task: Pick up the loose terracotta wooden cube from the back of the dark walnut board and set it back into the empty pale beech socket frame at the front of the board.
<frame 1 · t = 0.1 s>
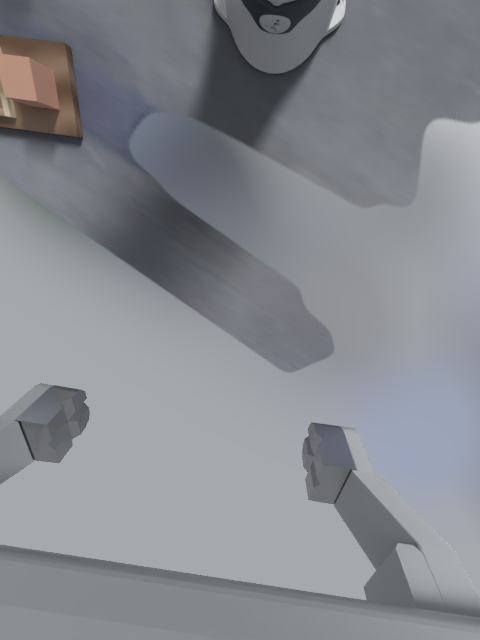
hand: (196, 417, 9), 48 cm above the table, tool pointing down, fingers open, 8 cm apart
assembly board: (19, 88, 45), on the table
terracotta cube: (41, 89, 43), point 1 cm above the table, touching assembly board
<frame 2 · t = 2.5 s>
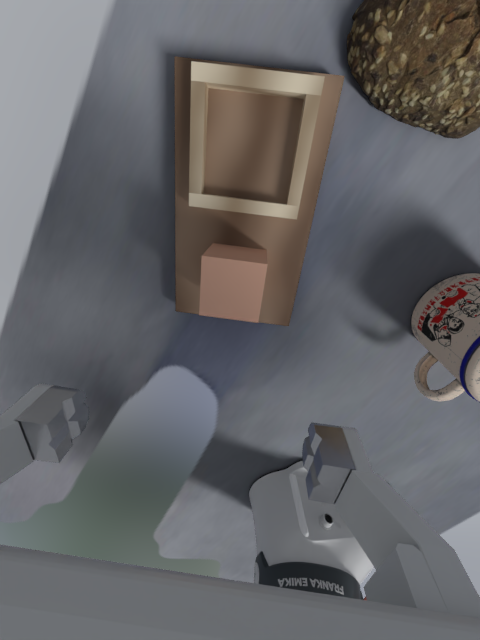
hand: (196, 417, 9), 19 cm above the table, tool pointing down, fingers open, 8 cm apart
teacup with lid: (441, 321, 28), on the table
bread roll: (451, 20, 18), on the table
assembly board: (243, 215, 24), on the table
terracotta cube: (236, 272, 25), point 1 cm above the table, touching assembly board
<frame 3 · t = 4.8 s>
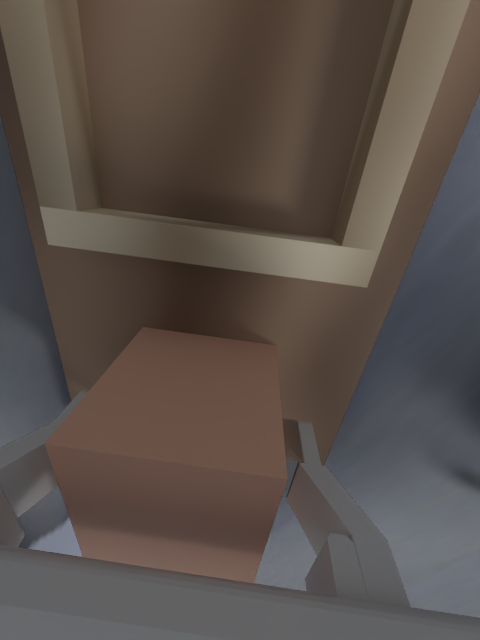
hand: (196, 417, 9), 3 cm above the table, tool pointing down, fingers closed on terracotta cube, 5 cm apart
assembly board: (218, 259, 10), on the table
terracotta cube: (205, 387, 11), point 1 cm above the table, touching assembly board, gripper
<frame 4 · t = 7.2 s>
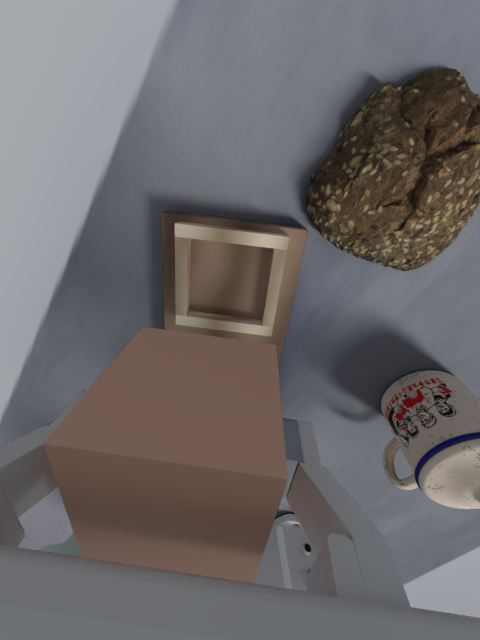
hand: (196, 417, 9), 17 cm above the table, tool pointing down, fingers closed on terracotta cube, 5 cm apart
teacup with lid: (408, 405, 30), on the table
bread roll: (396, 180, 21), on the table
assembly board: (226, 322, 27), on the table
terracotta cube: (205, 387, 11), point 16 cm above the table, touching gripper
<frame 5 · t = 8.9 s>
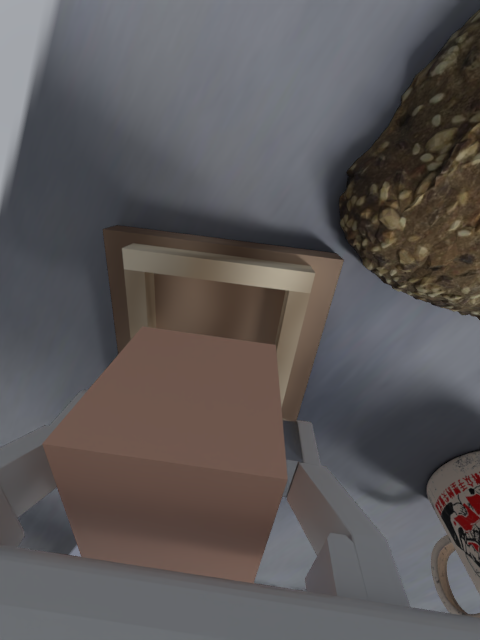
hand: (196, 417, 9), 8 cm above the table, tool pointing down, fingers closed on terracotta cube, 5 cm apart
teacup with lid: (463, 486, 22), on the table
assembly board: (214, 381, 19), on the table
terracotta cube: (205, 387, 11), point 6 cm above the table, touching gripper
when the fingers open (4 cm above the table, at t = 10.1 s): terracotta cube stays where it is, resting on assembly board.
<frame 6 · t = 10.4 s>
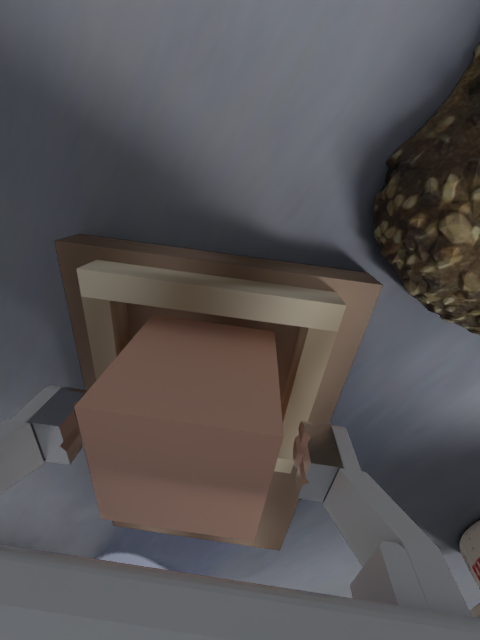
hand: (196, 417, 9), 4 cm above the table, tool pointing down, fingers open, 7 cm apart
assembly board: (208, 422, 15), on the table
terracotta cube: (209, 371, 12), point 1 cm above the table, touching assembly board
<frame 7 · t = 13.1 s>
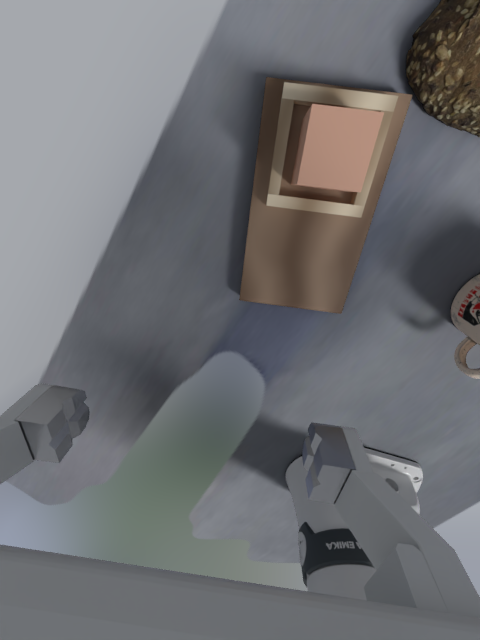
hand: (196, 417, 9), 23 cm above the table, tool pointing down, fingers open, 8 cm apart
teacup with lid: (477, 310, 31), on the table
assembly board: (307, 214, 27), on the table
terracotta cube: (323, 157, 24), point 1 cm above the table, touching assembly board
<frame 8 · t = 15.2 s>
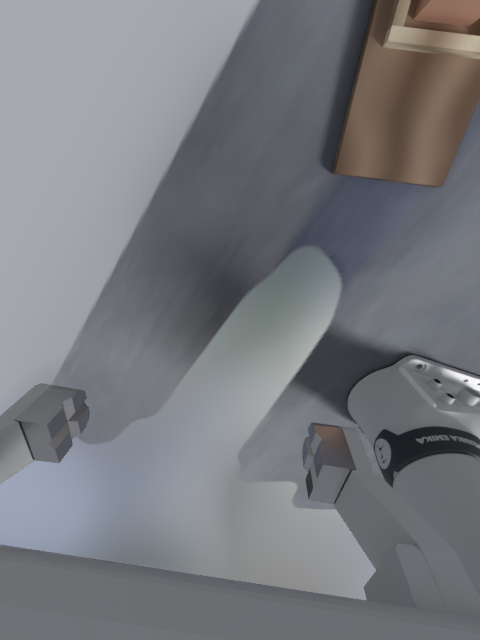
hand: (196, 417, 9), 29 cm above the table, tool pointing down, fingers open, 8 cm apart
assembly board: (419, 66, 26), on the table
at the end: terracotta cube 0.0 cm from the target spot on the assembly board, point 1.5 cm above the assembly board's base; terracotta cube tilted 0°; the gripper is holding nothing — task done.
